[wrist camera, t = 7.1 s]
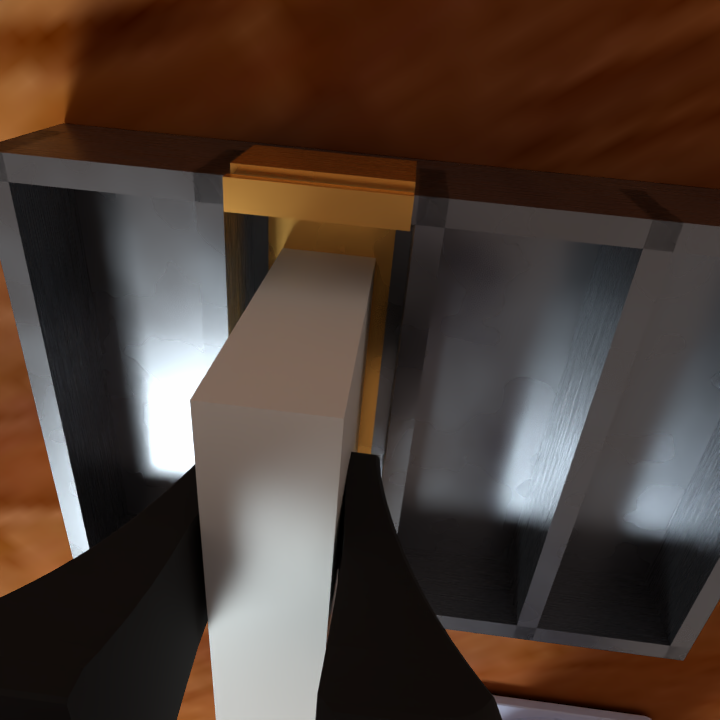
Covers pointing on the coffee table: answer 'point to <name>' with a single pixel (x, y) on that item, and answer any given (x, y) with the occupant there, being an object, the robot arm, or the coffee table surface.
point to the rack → (402, 358)
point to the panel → (279, 479)
